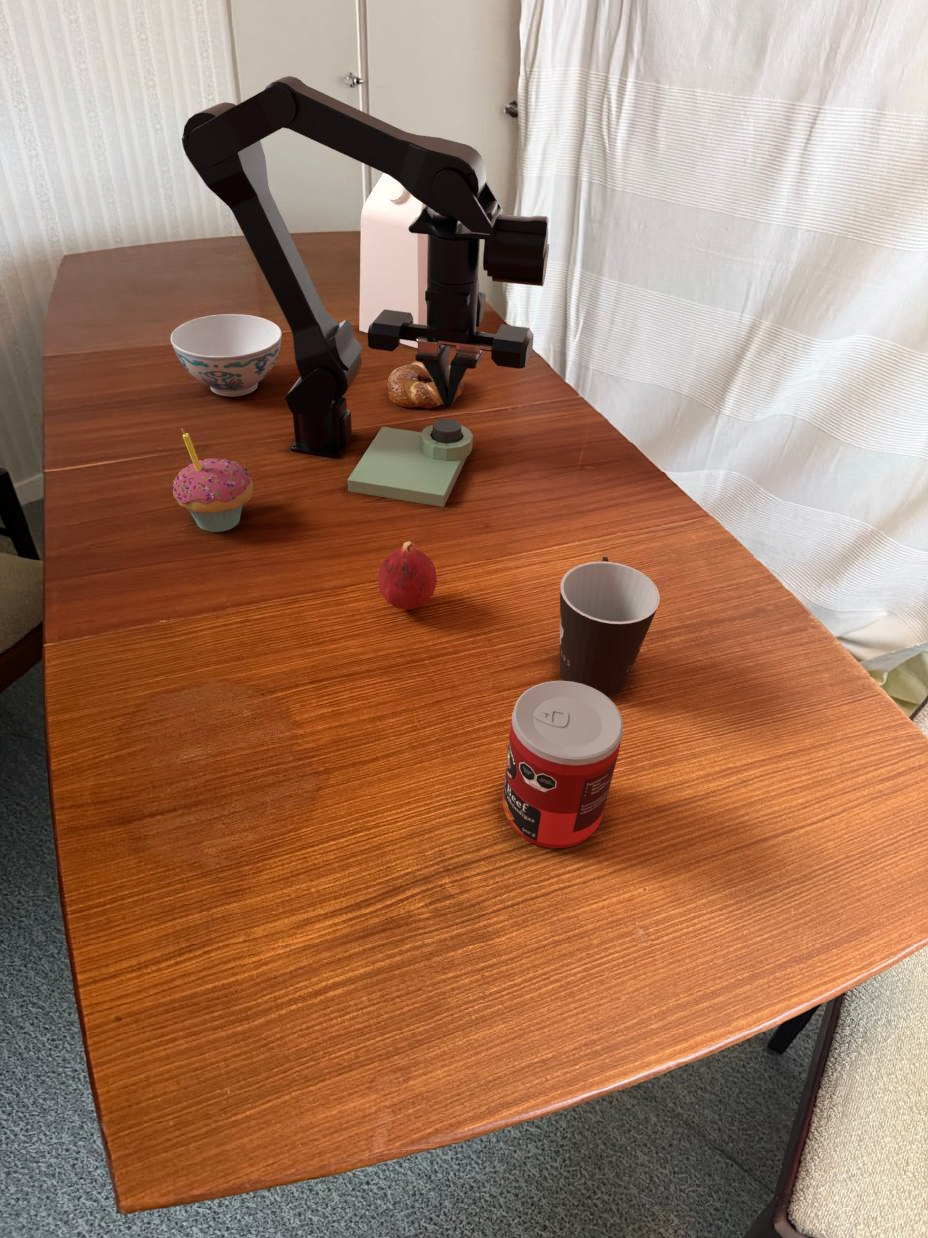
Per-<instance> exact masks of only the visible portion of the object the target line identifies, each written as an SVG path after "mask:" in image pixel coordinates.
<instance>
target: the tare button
mask: <svg viewBox="0 0 928 1238" xmlns="http://www.w3.org/2000/svg"><path fill="white" fill-rule="evenodd" d="M432 425H433V440H435V441H437V442H440V443H446V444H447V443H456V442H458V441H460V439H461V426H462V424H461V423H460V421H458V420H456V419H452V418H440V419H437V420H435V421H434V422H433V423H432Z"/></svg>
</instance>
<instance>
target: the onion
mask: <svg viewBox="0 0 928 1238" xmlns="http://www.w3.org/2000/svg"><path fill="white" fill-rule="evenodd" d="M415 547H416V544H415V542H412V541H411V540H407V541H406V542H403V545H402V546H401V547H400V548H399V549H395V550H394V551H393V552H390V554H388V555H387V556H386V557H385V558H384V559H383V561H382V563H381V565H380V566H379V570H378V576H377V580H378V581H377V583H378V589H379V592H380V594H381V595H382V596H383V598H384V600H386V602H387V603H388V604H389V605H391V606H393V607H395V608H397V609H398V610H404V611H410V610H415V609H417V608H419V607H421V606H423V605H424V604H426V603H427V602H428V601H429V600H430V599H431V598H432V597H433V595H434V593H435V590H436V587H437V583H438V577H437V571H436V567H435V564H434V562H433V561H432V559H431V558H430V557H429V556H428V555H426V554H425V553H424V552H423V551H422V550H419V549H417V548H415Z"/></svg>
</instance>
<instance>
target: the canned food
mask: <svg viewBox="0 0 928 1238" xmlns="http://www.w3.org/2000/svg"><path fill="white" fill-rule="evenodd" d="M513 707H514V708H513V710H512V713H511V721H510V726H509V727H510V728H509V736H508V737H509V738H508V745H507V755H506V764H505V773H504V783H503V791H502V807H503V812H504V814H505V816H506V820H507V821H508V823H509V825H510V826H511V828H512V829H513V831H515V833H517V834H518V835H519V836H520V837H522V838H523V839H525V840H526V841H528V842H530V843H532V844H534V845H537V846H540V847H543V848H546V849H547V848H548V849H565V848H570V847H575V846H578V845H579V844H581V843H583V842H585V841H587V839H589V838H590V837H591V836H592V834H593V833H594V832H595V831H596V830H597V829H598V827H599V825H600V824H601V821H602V819H603V815H604V811H605V808H606V807H605V806H606V803H607V799H608V795H609V791H610V788H611V784H612V779H613V777H614V772H615V768H616V765H617V760H618V757H619V754H620V749H621V744H622V741H623V735H624V719H623V717H622V713H621V710H619V708H618V706H617V705H616V703H614V701H612V699H611V698H610V697H607V696H606V695H604V694H603V693H601V692H600V691H598V690H596V689H594V688H592V687H589V686H587V685H584V684H580V683H576V682H570V681H563V680H553V681H552V680H551V681H544V682H542V683H539V684H536V685H532V687H530V688H528V689H526V690H525V691H524V692H523V693H522V694H521V695H520V696H518V699H517V700H516V702H515V703H514V706H513Z"/></svg>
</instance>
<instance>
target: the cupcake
mask: <svg viewBox="0 0 928 1238" xmlns="http://www.w3.org/2000/svg"><path fill="white" fill-rule="evenodd" d="M180 430H181V432H182V439H183V441H184V443H185V446H186V449H187V451H188V454H189V456H190V459H191V461H192V462H191V463H188V464H187V466H185V467H184V468H182V469H180V471H179V472H177V473H178V474H176V476H175V478H174V479H173V480H172V484H173V485H172V488H171V491H172V493H173V498H174V499H175V501H176V502H177V503H178V505H179V506H180V507H181V508H183V509H187V511H188V512H189V513H190V515H191V516H192V518H193V519H194V522H195V523H196V525H197V526H198V527H199V528H200V529H201V530H203V531H205V532H210V533H221V532H222V533H223V532H226V531H229V530H232V529H233V528H235V527H236V526H237V525H238V524H239V523H240V520H241V515H242V510H243V506H244V504H246V503H248V502H249V501H250V500H251V498H252V495H253V493H254V489H255V488H254V482H253V480H252V477H251V476H250V474H249V473H248V469H247V468H244V467H243V466H241V464H238V463H237V462H236V461H234V460H228V459H226V458H224V459H223V458H210V457H207V458H205V459H201V460H200V459H199V457H198V455H197V452H196V450H195V447H194V445H193V442H192V439H191V437H190V434H189V432H188V433H187V432H185V429H184V428H182V427H181V428H180Z"/></svg>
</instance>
